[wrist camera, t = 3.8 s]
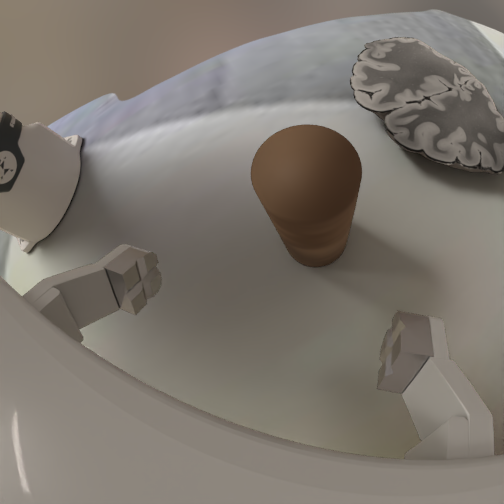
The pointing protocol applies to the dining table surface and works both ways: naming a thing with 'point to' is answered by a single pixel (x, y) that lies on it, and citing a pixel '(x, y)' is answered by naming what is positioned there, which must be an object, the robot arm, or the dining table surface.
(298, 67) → the dining table surface
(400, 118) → the brain slice
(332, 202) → the walnut pepper mill
